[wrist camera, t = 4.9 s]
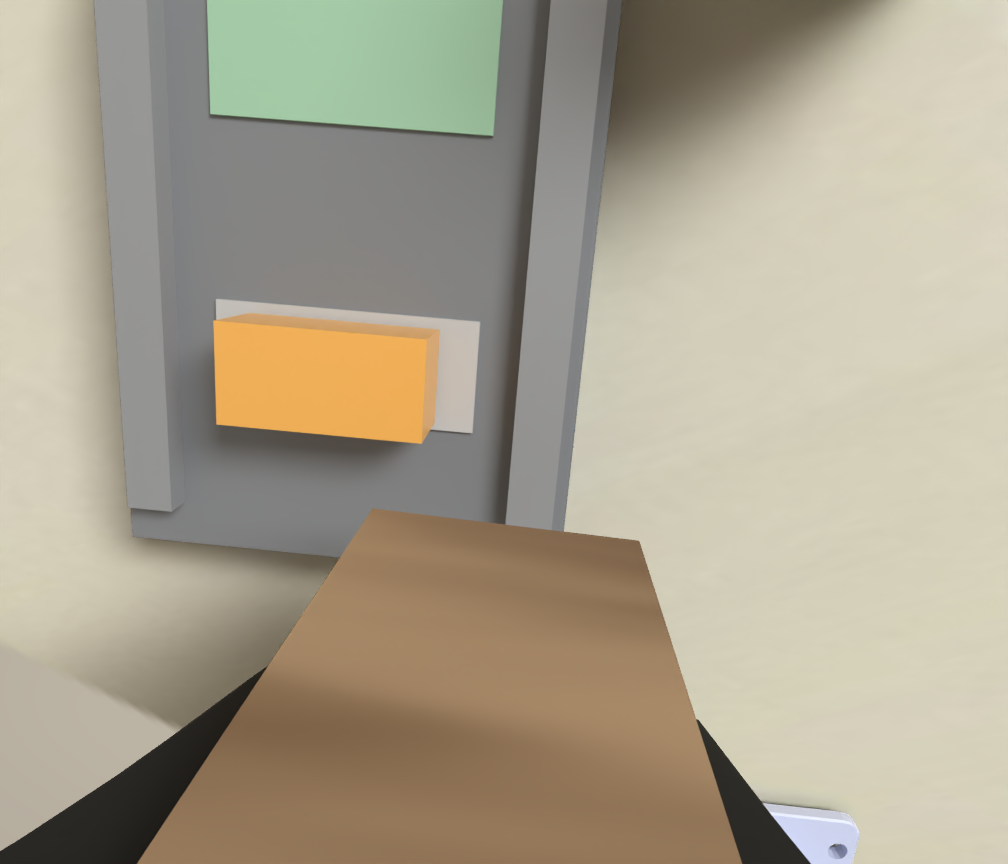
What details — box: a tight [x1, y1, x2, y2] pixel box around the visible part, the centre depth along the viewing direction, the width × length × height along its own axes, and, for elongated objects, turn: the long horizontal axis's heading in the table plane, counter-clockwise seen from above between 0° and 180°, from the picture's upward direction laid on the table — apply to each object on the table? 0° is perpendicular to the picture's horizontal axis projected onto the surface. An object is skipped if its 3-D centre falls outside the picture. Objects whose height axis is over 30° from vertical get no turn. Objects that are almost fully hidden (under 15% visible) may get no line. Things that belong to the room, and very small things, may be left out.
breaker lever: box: [213, 313, 440, 444], centre depth 14 cm, size 2×4×2 cm, turn 85°
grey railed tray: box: [94, 0, 622, 558], centre depth 15 cm, size 14×10×3 cm
